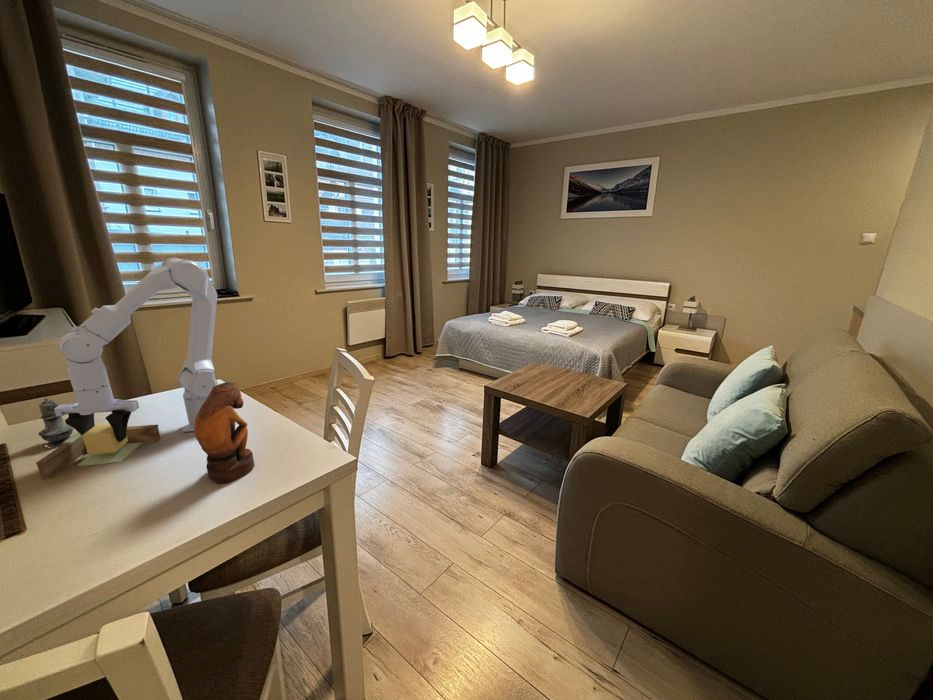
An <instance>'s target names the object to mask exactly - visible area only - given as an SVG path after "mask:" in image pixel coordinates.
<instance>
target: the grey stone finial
mask: <svg viewBox="0 0 933 700" xmlns="http://www.w3.org/2000/svg"><path fill="white" fill-rule="evenodd" d="M38 406H39V410H40V413H41V416H40V420H43V423H44V429H42V430H41V431H39V432H38V433H37V435H38V436H40V437H41V438H42V440H44V441H46V442H47V443H45V445H47V446H48V447H50V448H49V449H57V448H56V447H58V448H59V447H60V446H62V445H63V444H62V443H63V442H64V441H66V440H67V439H69V438H70V437H72V436H73V435H72V434H73V431H74V428H73V427H71V426H70V425H68V424H66V423H65V420H64V419H63V416H56V413H55V410H54V408H56V407H58V406H59V405H58V403H57V401H55V400H49V398H48V397H44V401H43V402H41V403H40V404H39V405H38Z"/></svg>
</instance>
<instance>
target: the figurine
mask: <svg viewBox="0 0 933 700" xmlns="http://www.w3.org/2000/svg"><path fill="white" fill-rule="evenodd" d="M242 397H243V396H242V392H241V389H240V387H238V385H237V383H235V382H230V381H229V382H222V383H219V384H217V385H216V386H214V387H213V388H212V391H211V392H210V394H209V396H208V398H207V399H206V401H205V402H204V403H203V405H202V406H201V408H200V410H199V412H198V413H197V415H196V418H195V422H194V431H193V432H194V436H195V438H196V440H197V442H198V444H199V446H200V448H201V450H202V451H203V452H204V453H205V454H206V455H207V456H206V465H205V466H206V467H205V468H206V471H207V475H208V479H209V480H210V482H211V483H213V484H225V483H229V482H233V481H235V480H237V479H238V478H241V477H243V476H245V475H247V474H249V473H250V472H251V471H253V468H254V467H255V461H254V454H253V452H252V450H251V449H250V448H246V446H247V442H248V435H249V430H248V423H247V422H246V421H245V420H244V419H243V418H242V417H241V416H240V415H239V414H238V412H237V411H236V410H235V409H237V410H238V409H242V408H243V406H244V400H243V398H242ZM236 424H238V426H236Z"/></svg>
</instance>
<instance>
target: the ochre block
mask: <svg viewBox="0 0 933 700" xmlns="http://www.w3.org/2000/svg"><path fill="white" fill-rule="evenodd" d="M82 437H83V440H84V443H85V446H86V449H87V452H86V453H87V455H88V456H90V455H93V454H103V453H113V452H116V451H117V450H118V449H120V448H121V447H122V446H123V445H124V444H125V443H126V442H127V441H128V438H127V435H126V438H125V439H124V440H122V441H120V442H118V441H117V440H116V438H115V435H114V431H113V429H112V427H111V425H110V424H109V422H108V423H97V424H95V426H94V427H93V428H92V429H90V430H89V431H87V432H86V433H85V434H83V435H82Z"/></svg>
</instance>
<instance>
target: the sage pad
mask: <svg viewBox="0 0 933 700" xmlns="http://www.w3.org/2000/svg"><path fill="white" fill-rule="evenodd" d="M142 444H143V443H129V444H124V445H123V446H122V447H121V448H120V449H118V450H117V451H116V452H113V453H103V454H93V455H88V456H87V457H86V458H85V459H84V460H82V461H81V462H80V463H78V464H77V466H78V467H82V466H92V465H104V464H115V463H117V464H118V463H122V462H124V460H125V459H126V458H127V457H129V455H131V454H132V453H133V452H135V450H136V449H137V448H138V447H140V446H141V445H142Z"/></svg>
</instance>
